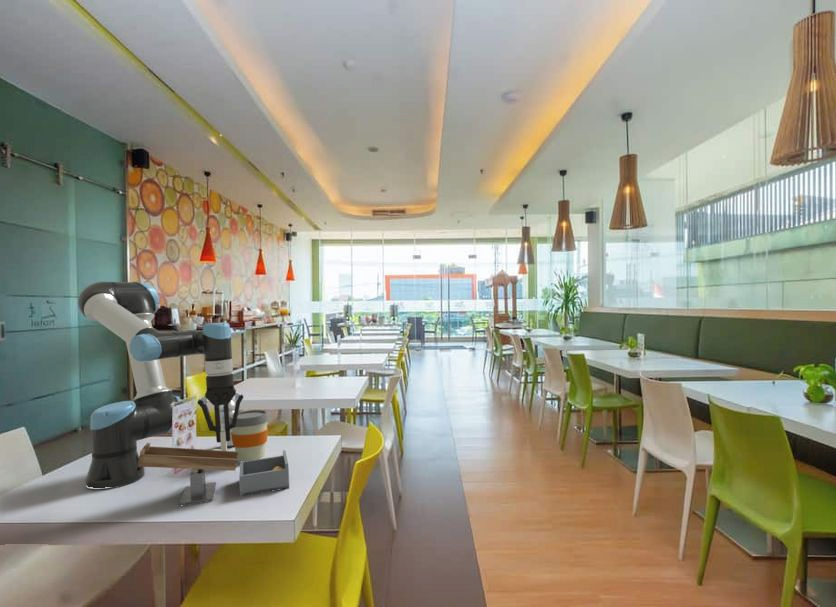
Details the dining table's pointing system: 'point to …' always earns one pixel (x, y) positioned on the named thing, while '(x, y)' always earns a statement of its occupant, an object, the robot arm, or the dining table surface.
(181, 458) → the chute
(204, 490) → the stand
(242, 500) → the dining table surface
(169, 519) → the dining table surface
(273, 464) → the grey tray
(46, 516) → the dining table surface
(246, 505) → the dining table surface
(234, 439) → the reusable coffee cup
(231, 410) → the plastic bottle
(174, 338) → the robot arm
